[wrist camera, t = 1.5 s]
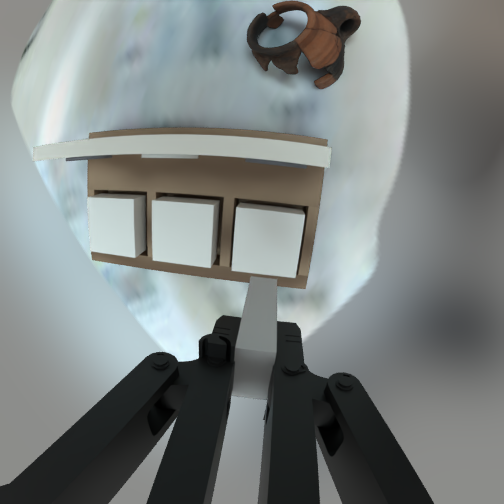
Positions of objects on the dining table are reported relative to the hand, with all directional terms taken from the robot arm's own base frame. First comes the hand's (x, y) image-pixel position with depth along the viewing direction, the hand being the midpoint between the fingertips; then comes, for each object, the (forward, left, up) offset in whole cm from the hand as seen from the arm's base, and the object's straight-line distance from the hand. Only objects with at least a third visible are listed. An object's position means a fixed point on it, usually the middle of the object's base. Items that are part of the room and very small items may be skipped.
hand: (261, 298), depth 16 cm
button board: (-3, -8, -15) cm, 18 cm away
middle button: (0, -8, -12) cm, 15 cm away
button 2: (0, 0, -12) cm, 12 cm away
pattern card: (-8, -8, -11) cm, 16 cm away
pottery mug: (-21, +2, -16) cm, 27 cm away
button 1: (0, -16, -12) cm, 20 cm away
